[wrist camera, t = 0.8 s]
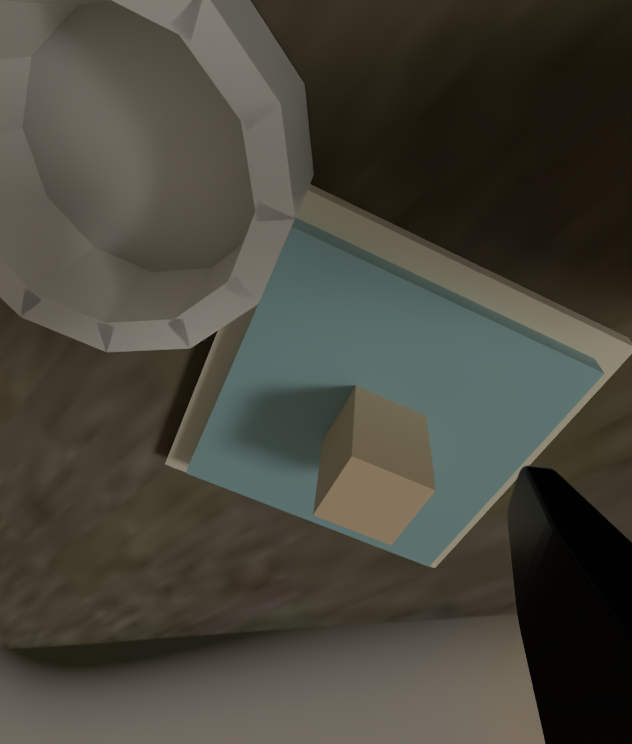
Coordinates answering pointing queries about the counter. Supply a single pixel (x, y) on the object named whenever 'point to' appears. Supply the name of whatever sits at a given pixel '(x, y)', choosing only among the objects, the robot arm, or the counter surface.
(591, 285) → the counter surface
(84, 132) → the bowl
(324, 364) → the lid
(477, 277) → the mat
